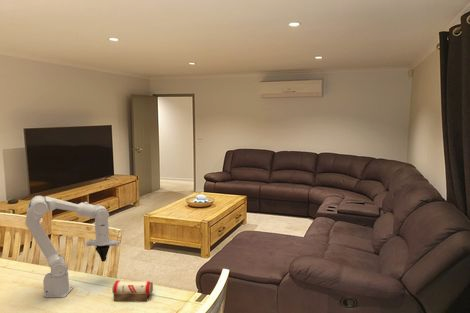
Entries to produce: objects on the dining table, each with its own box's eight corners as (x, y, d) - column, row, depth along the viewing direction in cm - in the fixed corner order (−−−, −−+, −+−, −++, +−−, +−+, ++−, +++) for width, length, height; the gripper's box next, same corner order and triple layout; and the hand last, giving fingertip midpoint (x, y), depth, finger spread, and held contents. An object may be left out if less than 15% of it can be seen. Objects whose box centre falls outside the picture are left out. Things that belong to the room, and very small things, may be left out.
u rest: (113, 301, 150) (113, 293, 149) (121, 289, 159) (121, 281, 159) (147, 301, 149) (146, 293, 149) (152, 289, 159) (152, 282, 158)
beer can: (112, 298, 151) (149, 299, 150) (111, 285, 149) (148, 286, 149) (117, 290, 157) (153, 291, 156) (116, 277, 156) (152, 278, 155)
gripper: (120, 229, 166) (122, 256, 168) (90, 229, 166) (92, 256, 168) (115, 235, 159) (117, 263, 161) (83, 234, 159) (85, 263, 162)
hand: (103, 260), depth 164 cm, fingers closed
